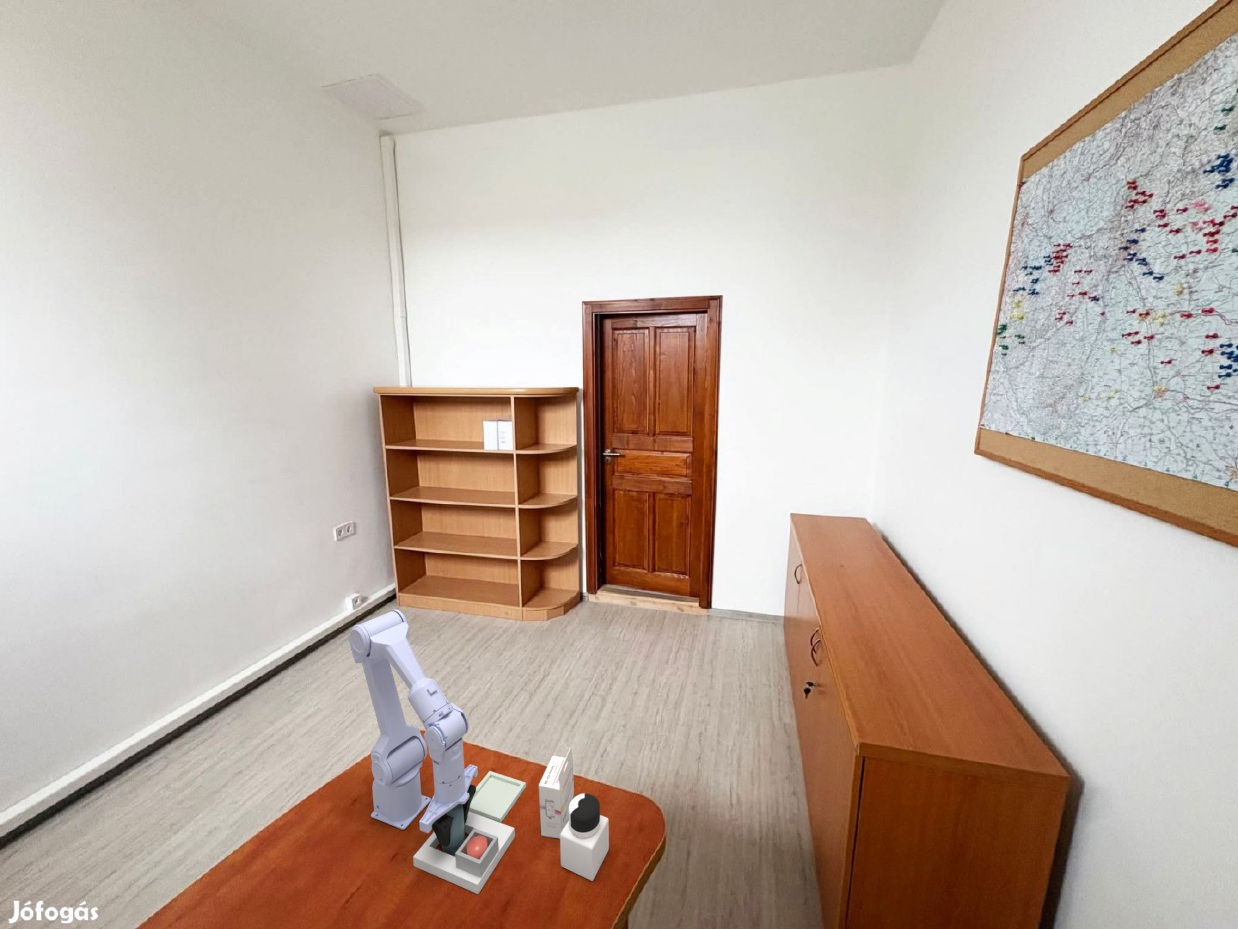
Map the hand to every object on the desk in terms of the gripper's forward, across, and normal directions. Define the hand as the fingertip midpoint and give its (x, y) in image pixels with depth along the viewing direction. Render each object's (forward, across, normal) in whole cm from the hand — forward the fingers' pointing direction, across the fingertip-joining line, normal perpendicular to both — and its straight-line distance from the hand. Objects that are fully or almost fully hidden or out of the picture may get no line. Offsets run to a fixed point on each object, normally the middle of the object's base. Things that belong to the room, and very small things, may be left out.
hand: (452, 833), depth 93 cm
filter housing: (+3, 0, -3) cm, 4 cm away
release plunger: (+1, -2, -8) cm, 8 cm away
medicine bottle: (+3, +7, -26) cm, 27 cm away
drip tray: (+3, +12, -1) cm, 13 cm away
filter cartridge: (+3, 0, 0) cm, 3 cm away
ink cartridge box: (+3, +12, -17) cm, 21 cm away
